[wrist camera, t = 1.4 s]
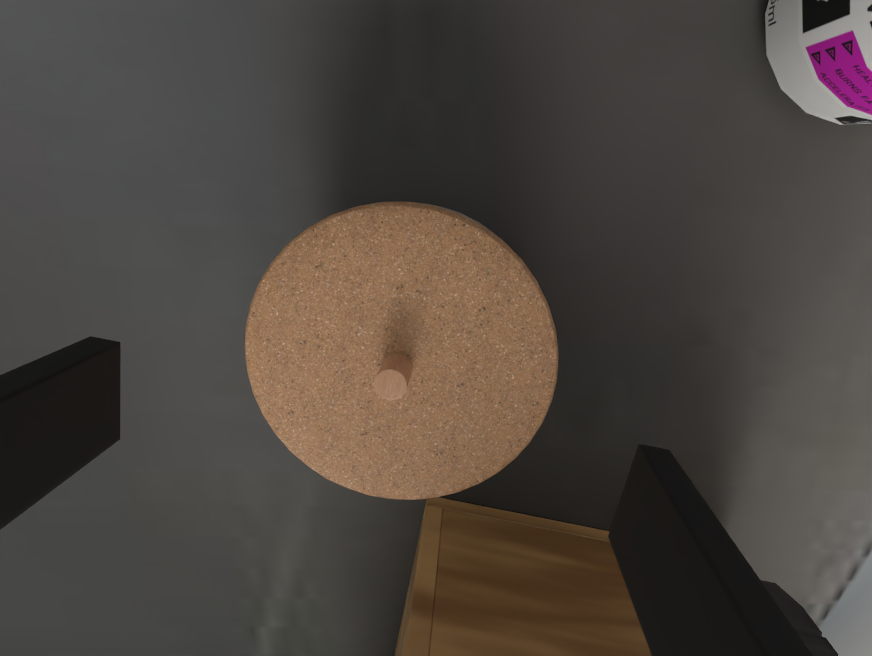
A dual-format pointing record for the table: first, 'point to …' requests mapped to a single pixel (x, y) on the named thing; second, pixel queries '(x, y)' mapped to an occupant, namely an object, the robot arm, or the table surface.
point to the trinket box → (401, 350)
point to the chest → (514, 588)
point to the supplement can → (823, 56)
